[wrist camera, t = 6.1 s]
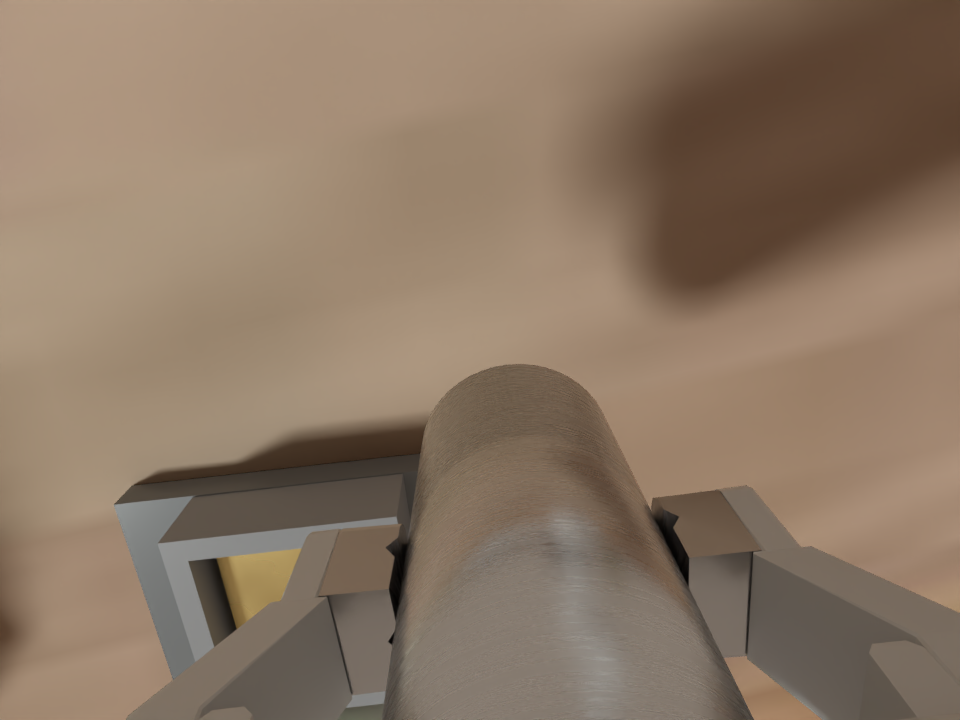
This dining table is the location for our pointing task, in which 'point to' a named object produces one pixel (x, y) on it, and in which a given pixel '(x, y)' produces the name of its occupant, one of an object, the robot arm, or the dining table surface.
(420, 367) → the dining table surface
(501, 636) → the cell
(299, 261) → the dining table surface
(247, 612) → the plate
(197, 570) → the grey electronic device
